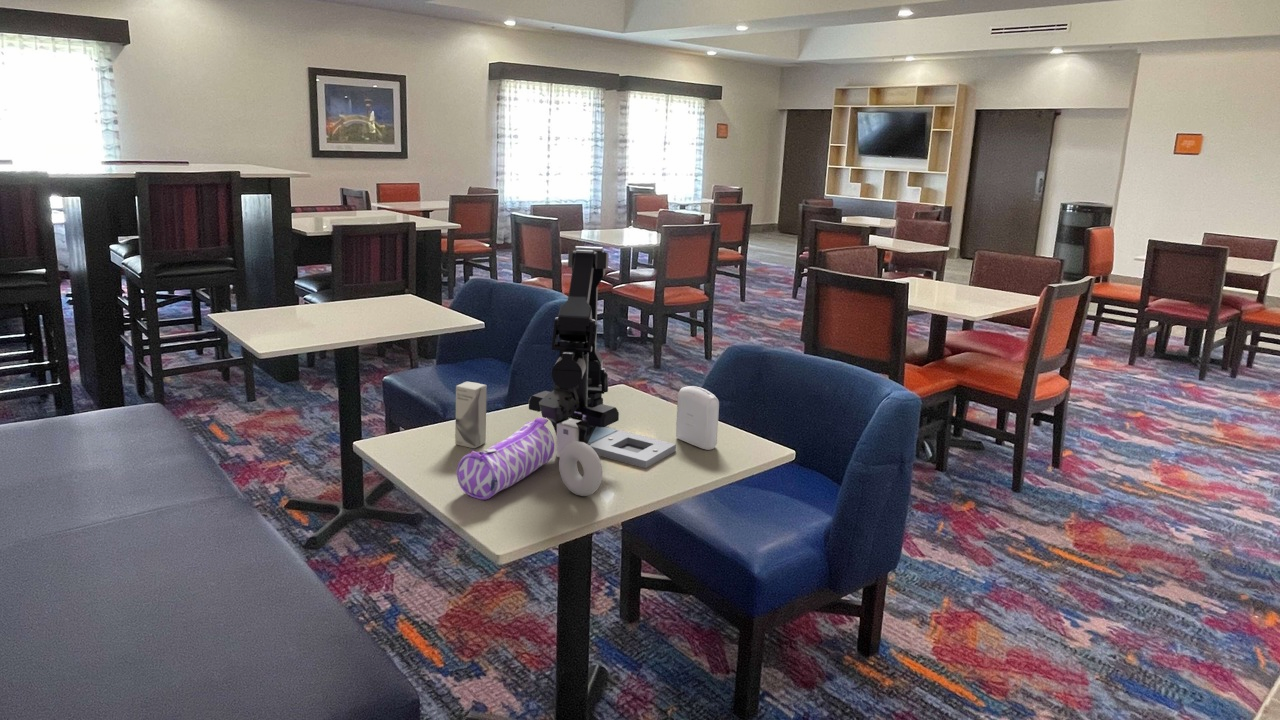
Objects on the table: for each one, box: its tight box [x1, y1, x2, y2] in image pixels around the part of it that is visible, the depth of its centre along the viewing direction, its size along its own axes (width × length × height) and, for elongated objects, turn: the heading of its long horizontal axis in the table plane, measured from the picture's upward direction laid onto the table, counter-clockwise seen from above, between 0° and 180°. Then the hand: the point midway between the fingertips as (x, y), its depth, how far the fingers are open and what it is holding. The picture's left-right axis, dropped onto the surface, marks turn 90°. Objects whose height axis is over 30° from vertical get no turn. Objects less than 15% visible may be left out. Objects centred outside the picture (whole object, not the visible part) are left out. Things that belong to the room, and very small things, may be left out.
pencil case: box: [456, 417, 555, 501], centre depth 154 cm, size 22×9×10 cm, turn 156°
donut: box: [558, 441, 603, 497], centre depth 149 cm, size 10×4×10 cm, turn 47°
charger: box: [555, 417, 588, 458], centre depth 167 cm, size 4×4×7 cm
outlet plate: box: [589, 429, 677, 469], centre depth 172 cm, size 14×12×2 cm
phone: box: [588, 426, 620, 445], centre depth 179 cm, size 6×11×1 cm, turn 148°
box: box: [454, 381, 488, 449], centre depth 171 cm, size 5×4×13 cm
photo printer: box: [675, 385, 720, 451], centre depth 177 cm, size 10×4×12 cm, turn 39°
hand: (572, 448), depth 168 cm, fingers closed on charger, 4 cm apart
